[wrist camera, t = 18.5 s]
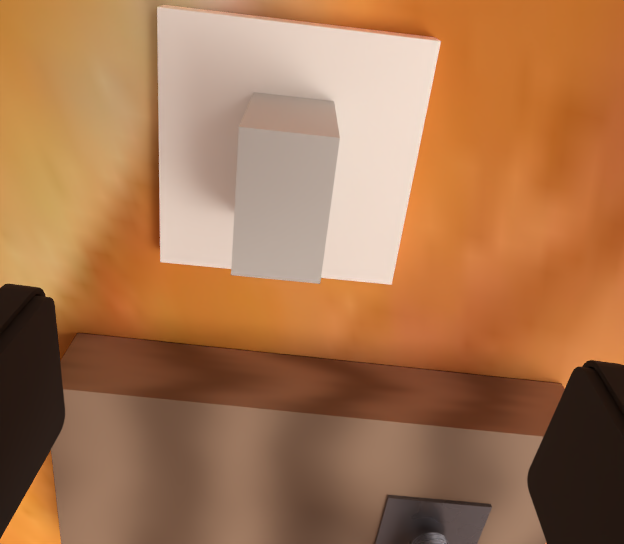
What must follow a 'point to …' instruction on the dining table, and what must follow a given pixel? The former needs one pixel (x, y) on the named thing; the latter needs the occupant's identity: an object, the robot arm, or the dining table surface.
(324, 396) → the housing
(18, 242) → the dining table surface
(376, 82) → the cover
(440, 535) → the latch
